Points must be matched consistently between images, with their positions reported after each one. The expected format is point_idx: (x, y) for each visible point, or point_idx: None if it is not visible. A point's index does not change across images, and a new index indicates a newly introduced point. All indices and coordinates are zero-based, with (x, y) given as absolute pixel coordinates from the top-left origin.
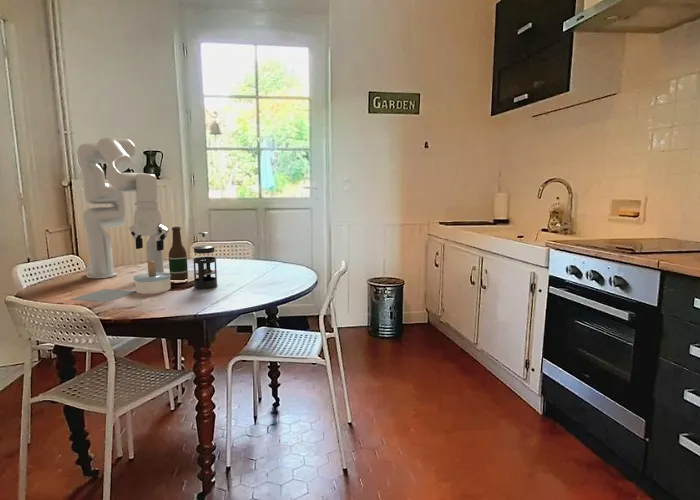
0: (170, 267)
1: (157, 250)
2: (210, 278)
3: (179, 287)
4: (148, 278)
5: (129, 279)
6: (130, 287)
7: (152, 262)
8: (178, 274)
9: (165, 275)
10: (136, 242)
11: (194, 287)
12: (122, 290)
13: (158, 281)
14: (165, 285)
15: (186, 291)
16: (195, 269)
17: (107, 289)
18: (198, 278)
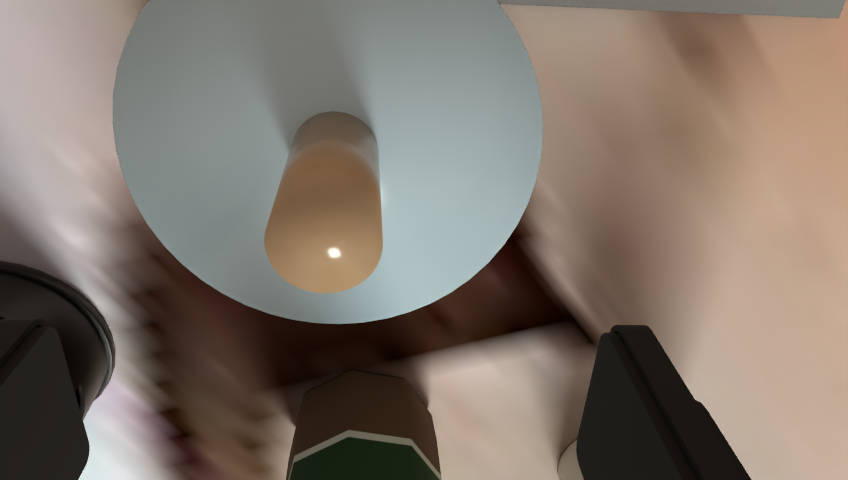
0: (397, 477)
1: (35, 319)
2: None
3: None
4: (270, 9)
5: (784, 377)
6: (641, 172)
7: (274, 208)
8: (319, 433)
9: (197, 209)
10: (681, 431)
11: (64, 287)
12: (625, 3)
13: None
14: None
15: (35, 171)
16: None
17: (797, 4)
18: (82, 403)
